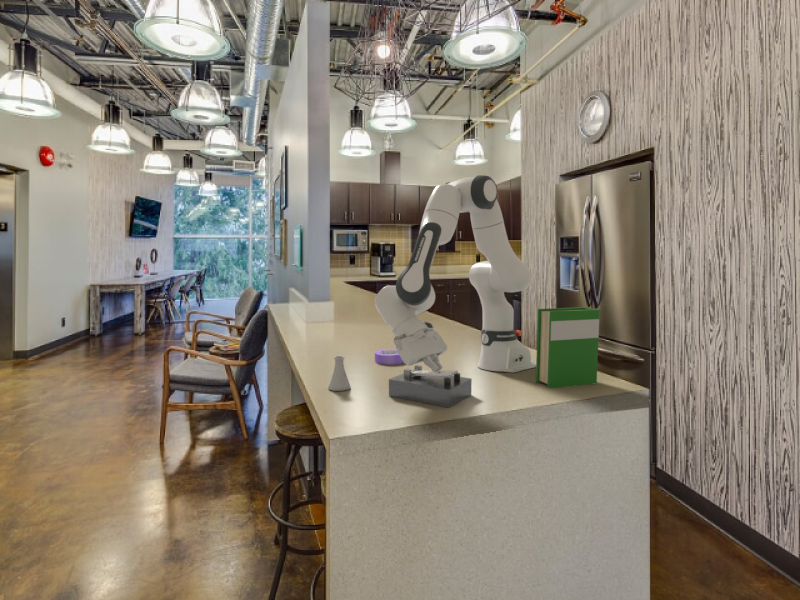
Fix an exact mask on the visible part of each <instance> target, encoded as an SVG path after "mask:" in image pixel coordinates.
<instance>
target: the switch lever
mask: <svg viewBox="0 0 800 600" xmlns="http://www.w3.org/2000/svg"><path fill="white" fill-rule="evenodd" d="M412 370H413V371H411V376H454V374H456V373H459V372H458V370H457V369H453V370H452V369H451V370H450V369H445V370H444V369H441V370H439V371H436V372H433V371H432V369H430V370H429V369H428V370H426V369H425V370H424V369H422V370H415V369H412Z"/></svg>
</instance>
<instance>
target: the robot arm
mask: <svg viewBox="0 0 800 600" xmlns="http://www.w3.org/2000/svg"><path fill="white" fill-rule="evenodd" d="M460 213H462V214H463V213H469V214H470V215H469V216H470V222H471V228H472V233H473V237H474V241H475V246H476V249H477V250H478V252H479V253H481V254H483V256H484V257H485V258H486V259H487V260H483V261H479V262H476V263H474V264H473V265H472V266H471V268H470V269H469V272H468V279H469V283H470V284H471V285H472V286H473V287H474V289H475V290H476V292H477V294H478V296H479V297H478V298H479V300H480V303H481V308H482V309H481V310H482V328H481V333H480V338H481V348H480V354H479V359H478V362H477V368H479V369H482V370H485V371H491V372H505V373H518V372H522V371H525V370H530V369H532V368H536V362H535V361H533V360H532V357H531V351H530V349H529V348H528V347H527V346H526V345H525V344H523V343H522V342H521V341H519V340H518V337H517V336H519V337H521V336H522V335H523V332H522V330H519V329H516V330H515V329H514V316H515V315H514V314H515V313H514V312H515V311H514V308H513V305H512V304H511V303H510V302H508V300H507V298H506V296H505V293H517V292H524V291H525V290H526V289H528V288H529V286H530V284H531V281H532V272H531V269H530V267H529V266H528V265H527V264H526V263H524V262H522V260H521V259H519V257H518V256H517V255H516V253H515V252H514V250H513V248H512V246H511V243H510V242H509V238H508V234H507V230H506V226H505V221H504V217H503V213H502V209H501V206H500V204H499V201H498V187H497V184H496V182H495V181H494V179H492V177H491V176H488V175H485V174H483V175H476V176H468V177H463V178H459V179H456V180H454V181H449V182H446V183H442V184H439V185H437V186H436V187H435V188H433V190H432V193H431V194H430V196H429V198H428V200H427V202H426V205H425V208H424V211H423V215H422V217H421V218H422V219H421V223H420V228H419V232H418V236H417V239H416V242H415V244H414V247H413V251H412V254H411V256H410V259H409V261H408V264H407V266H406V267H405V268H404V270H403V271H402V272H401V273H400V274H399V275H398V278H397V279H396V283H395V285H389V284H387V285H385V286H383V287H382V288H381V289H380V290H379V291H378V292H377V294H376V295H375V297H374V306H375V308H376V310H377V312H378V314H379V315H380V317H381V319H382V320H383V321H384V322H385V324H386V325H388V326H389V327H390V329H391V332H392V334H393V335H394V338H393V343H394V345H395V349H396V350H397V352H398V354H399V355H400V357H401V359H402V360H403V363H404V364H405V365H406V366H408V367H410V366H413V365H417V364H419V363H423V364H424V365H425V366H426V367H428V368H430V370H432V371H433V372H436V371H439V370H443V365H442V364H441V362H440V359H439V357H440V356H442V355H443V354H444V353H445V352H447V350H448V345H447V343H446V342H445V340H444V339H443V338H442V336H441V334H439V332H438V331H436V330H435V326H434V324H433V323H431V322H428V321H425V320H422V319H420V318H419V317H418V315H421V314H423V313H425V312H426V311H428V310H429V309H431V308H432V307H433V306H434V304H435V301H436V292H435V289H434V287H433V285H432V282H431V279H430V270H431V267H432V264H433V261H434V258H435V255H436V253H437V249H438V247H439V246H442V245H445V244H447V243H449V242H450V241H451V240H452V238H453V236H454V233H455V231H456V229H457V225H458V221H459V216H460Z"/></svg>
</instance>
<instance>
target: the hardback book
mask: <svg viewBox="0 0 800 600" xmlns="http://www.w3.org/2000/svg"><path fill="white" fill-rule="evenodd" d="M600 311H601V310H600V309H596V308H591V307H586V306H585V307H583V306H580V307H578V306H577V307H559V308H558V307H557V308H556V307H555V308H554V307H552V308H537V326H536V327H537V328H536V329H537V330H536V331H537V332H536V360H535V361H536V362H535V363H536V367H535V383H538V384H539V383H544V384H546V385H547V388H548V389H552V388H553V389H554V388H563V387H564V386H566V387H573V385H576V386H584V385H583V384H587V385H593V384H592V383H598V382H597V379H598V377H597V376H598V361H599V359H598V358H599V356H598V355H599V334H600Z"/></svg>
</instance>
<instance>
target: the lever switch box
mask: <svg viewBox="0 0 800 600" xmlns="http://www.w3.org/2000/svg"><path fill="white" fill-rule="evenodd" d="M413 370H423V366H422V365H418V364H414V369H407V368H405V369H404V370H403V373H401V374H398V375H396V376H393V377H391V378H388V396H389V397H394V398H397V399H398V398H399V399H403V400H409V401H414V402H419V403H423V404H428V405H433V406H439V407H443V408H448V409H450V408H451V407H453V406H456V405H457V404H458V403H461V402H462V401H465V400H466V399H467V398H469V397H471V396H472V378H471V377H464V376H461V373H460V372H458V373H456V374H454V375H452V376H411V371H413Z"/></svg>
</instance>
